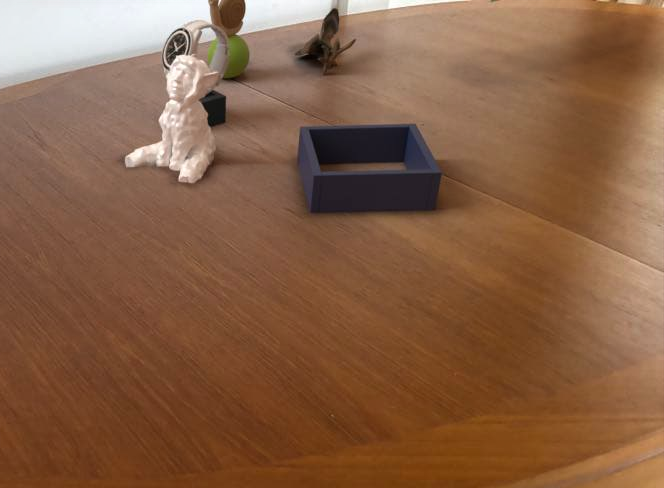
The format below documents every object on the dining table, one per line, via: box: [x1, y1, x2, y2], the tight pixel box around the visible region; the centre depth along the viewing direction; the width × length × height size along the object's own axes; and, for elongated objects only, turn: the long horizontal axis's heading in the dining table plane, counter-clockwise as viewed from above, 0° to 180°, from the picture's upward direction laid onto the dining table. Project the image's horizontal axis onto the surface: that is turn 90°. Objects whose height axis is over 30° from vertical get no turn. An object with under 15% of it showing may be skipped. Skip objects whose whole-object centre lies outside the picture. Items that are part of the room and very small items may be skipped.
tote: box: [296, 123, 443, 214], centre depth 87 cm, size 12×12×5 cm
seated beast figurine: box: [124, 55, 219, 184], centre depth 91 cm, size 10×9×12 cm
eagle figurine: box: [294, 7, 357, 76], centre depth 117 cm, size 8×7×9 cm
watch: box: [161, 19, 230, 128], centre depth 102 cm, size 6×8×11 cm
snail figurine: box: [207, 0, 250, 79], centre depth 113 cm, size 5×6×12 cm
